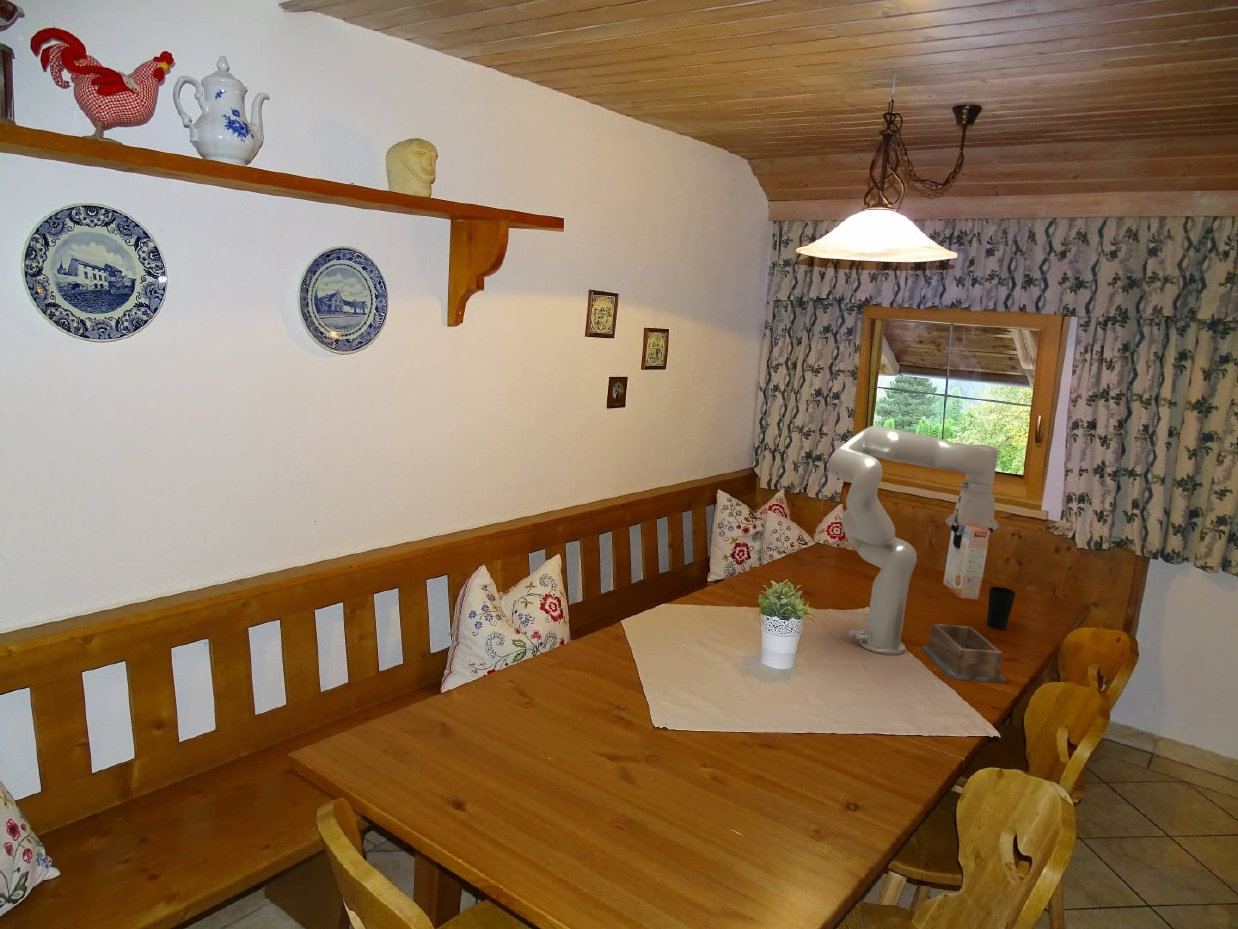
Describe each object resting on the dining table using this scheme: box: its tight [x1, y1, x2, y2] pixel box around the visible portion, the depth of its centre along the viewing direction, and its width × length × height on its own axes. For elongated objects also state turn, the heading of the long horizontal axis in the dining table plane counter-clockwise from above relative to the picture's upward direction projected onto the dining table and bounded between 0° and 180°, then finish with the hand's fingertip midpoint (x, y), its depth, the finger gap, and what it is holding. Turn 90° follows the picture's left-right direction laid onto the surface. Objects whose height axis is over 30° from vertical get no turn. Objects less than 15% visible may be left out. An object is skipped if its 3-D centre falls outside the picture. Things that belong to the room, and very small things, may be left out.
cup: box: [986, 586, 1017, 631], centre depth 276 cm, size 8×8×12 cm
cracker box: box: [942, 521, 991, 601], centre depth 257 cm, size 14×6×21 cm, turn 179°
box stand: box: [920, 623, 1006, 683], centre depth 241 cm, size 15×20×8 cm
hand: (968, 547), depth 257 cm, fingers closed on cracker box, 6 cm apart
